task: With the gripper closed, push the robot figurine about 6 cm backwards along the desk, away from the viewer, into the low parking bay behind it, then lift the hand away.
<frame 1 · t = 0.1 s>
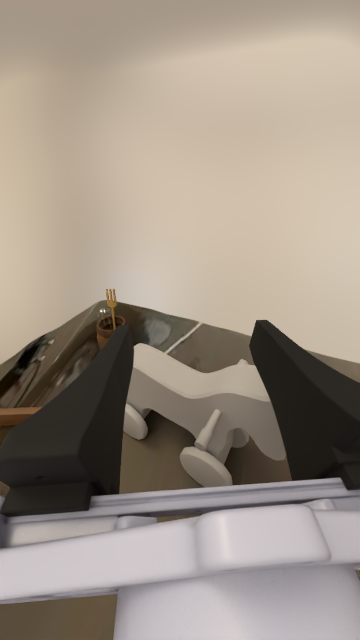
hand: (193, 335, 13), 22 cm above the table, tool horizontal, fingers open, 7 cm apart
pony: (185, 442, 29), on the table
utensil holder: (117, 352, 43), on the table
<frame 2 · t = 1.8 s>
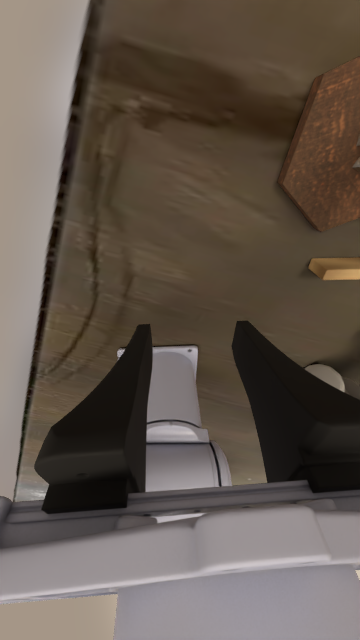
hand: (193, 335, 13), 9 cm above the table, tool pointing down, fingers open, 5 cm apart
robot figurine: (351, 152, 16), on the table
pony: (342, 357, 30), on the table
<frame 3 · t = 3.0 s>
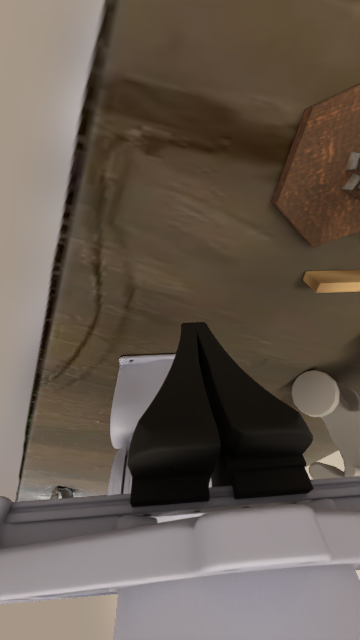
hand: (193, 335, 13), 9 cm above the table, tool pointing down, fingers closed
wristwatch: (65, 487, 54), on the table
robot figurine: (341, 174, 17), on the table
pony: (337, 364, 31), on the table
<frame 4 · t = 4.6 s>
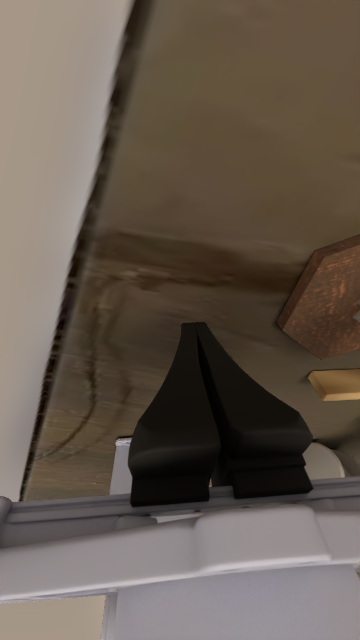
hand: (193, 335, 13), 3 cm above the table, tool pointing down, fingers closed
robot figurine: (351, 297, 16), on the table
pony: (342, 435, 30), on the table
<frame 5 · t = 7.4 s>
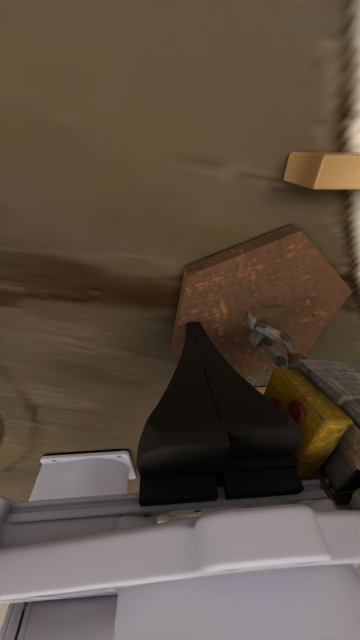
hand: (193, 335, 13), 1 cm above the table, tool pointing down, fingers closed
robot figurine: (249, 314, 14), on the table, touching gripper
parking bay: (355, 314, 15), on the table
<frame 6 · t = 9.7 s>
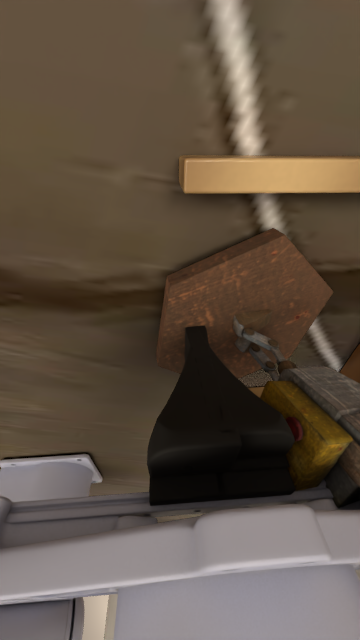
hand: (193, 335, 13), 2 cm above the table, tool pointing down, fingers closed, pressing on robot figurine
travel mug: (134, 518, 45), on the table
robot figurine: (234, 319, 14), on the table, touching gripper
parking bay: (289, 317, 15), on the table
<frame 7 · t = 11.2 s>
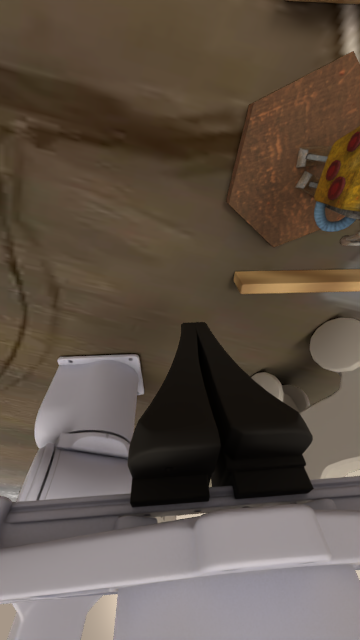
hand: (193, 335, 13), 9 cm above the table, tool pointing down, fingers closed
robot figurine: (295, 171, 16), on the table
pony: (288, 366, 30), on the table
parking bay: (348, 176, 16), on the table
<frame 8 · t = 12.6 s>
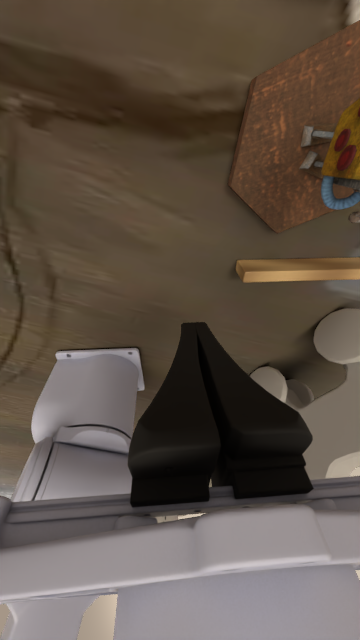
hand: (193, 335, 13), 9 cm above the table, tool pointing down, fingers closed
robot figurine: (299, 152, 16), on the table
pony: (292, 360, 30), on the table
parking bay: (353, 157, 16), on the table
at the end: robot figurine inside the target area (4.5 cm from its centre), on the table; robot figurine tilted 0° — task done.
